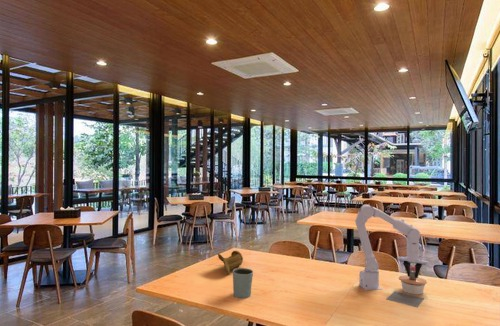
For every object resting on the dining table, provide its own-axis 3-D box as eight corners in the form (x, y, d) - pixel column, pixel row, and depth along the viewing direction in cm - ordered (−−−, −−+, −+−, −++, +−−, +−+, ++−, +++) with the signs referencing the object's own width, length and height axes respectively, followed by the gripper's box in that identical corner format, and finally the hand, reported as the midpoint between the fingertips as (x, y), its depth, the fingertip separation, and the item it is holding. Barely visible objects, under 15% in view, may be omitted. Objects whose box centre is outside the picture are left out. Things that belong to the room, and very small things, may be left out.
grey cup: (229, 293, 165) (229, 269, 166) (247, 290, 169) (248, 267, 170) (236, 300, 156) (237, 275, 156) (256, 297, 160) (256, 272, 160)
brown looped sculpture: (203, 258, 202) (229, 246, 218) (210, 278, 201) (236, 265, 217) (221, 254, 190) (247, 242, 205) (228, 276, 188) (254, 262, 204)
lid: (408, 284, 164) (408, 275, 164) (394, 276, 177) (394, 268, 177) (432, 284, 165) (432, 275, 165) (416, 276, 178) (416, 268, 178)
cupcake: (422, 280, 188) (422, 259, 188) (406, 279, 190) (407, 258, 190) (418, 276, 196) (418, 255, 197) (403, 274, 198) (403, 254, 198)
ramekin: (405, 286, 179) (405, 276, 179) (427, 292, 171) (427, 281, 171) (397, 291, 171) (397, 281, 171) (420, 297, 163) (420, 287, 163)
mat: (417, 308, 150) (417, 307, 150) (385, 300, 159) (385, 299, 159) (424, 299, 161) (424, 298, 161) (394, 291, 170) (394, 291, 170)
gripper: (430, 251, 170) (429, 278, 170) (400, 247, 179) (400, 272, 179) (427, 254, 164) (426, 281, 164) (396, 249, 174) (396, 275, 173)
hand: (412, 276), depth 171 cm, fingers closed on lid, 3 cm apart
